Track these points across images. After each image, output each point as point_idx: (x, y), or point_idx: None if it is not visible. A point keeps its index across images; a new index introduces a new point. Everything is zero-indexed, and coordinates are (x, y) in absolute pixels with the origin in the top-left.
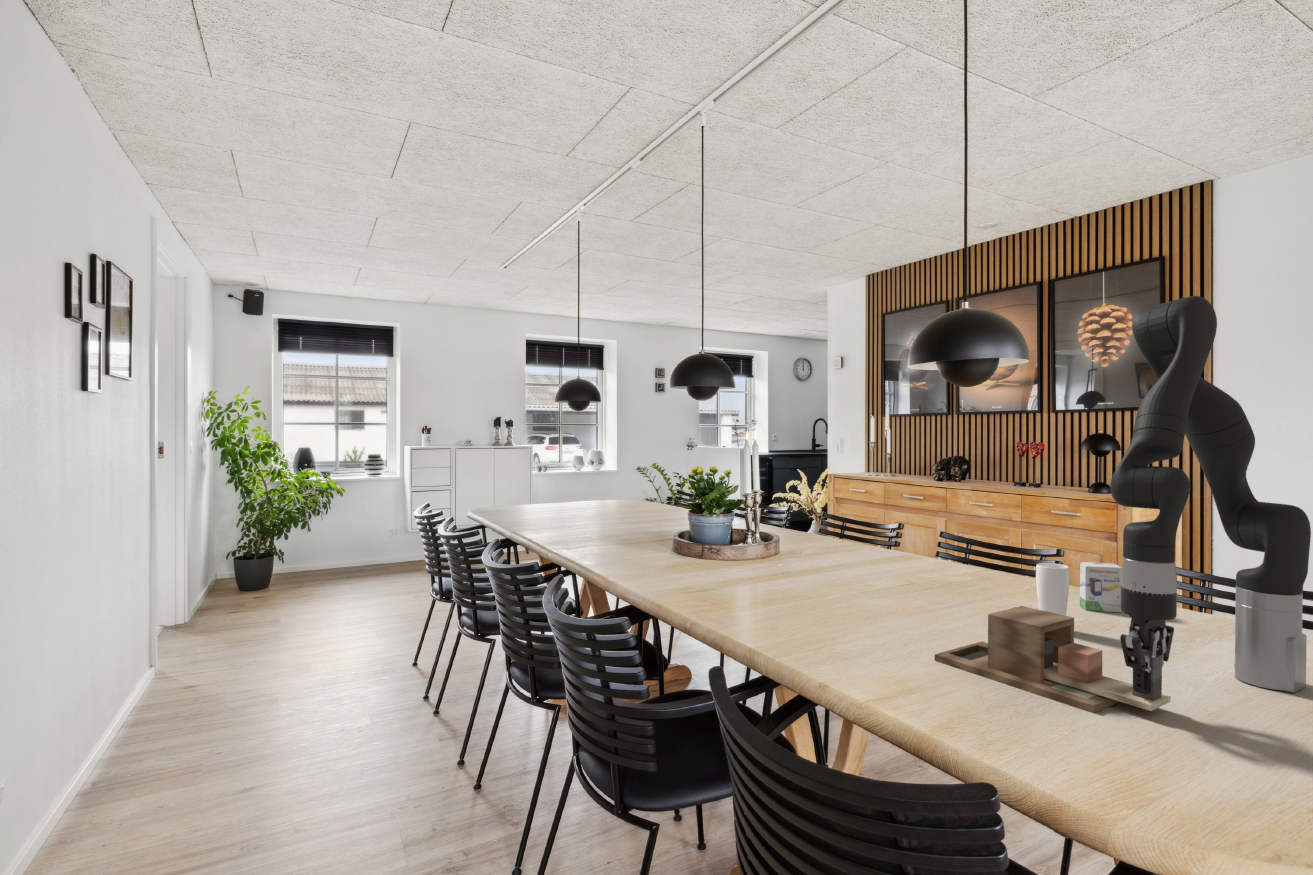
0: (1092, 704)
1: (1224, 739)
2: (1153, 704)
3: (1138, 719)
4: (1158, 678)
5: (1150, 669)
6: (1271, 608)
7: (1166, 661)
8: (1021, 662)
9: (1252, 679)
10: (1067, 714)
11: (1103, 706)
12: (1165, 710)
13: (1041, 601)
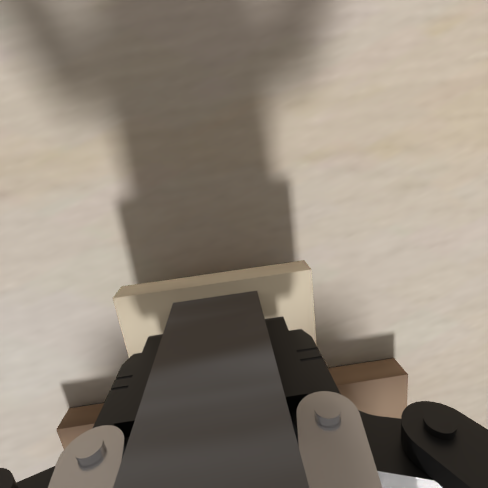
0: (400, 381)
1: (216, 17)
2: (286, 271)
3: (318, 273)
4: (202, 356)
5: (323, 403)
6: None
7: (2, 468)
8: None
9: None
10: (472, 377)
11: (331, 372)
12: (141, 283)
13: None
